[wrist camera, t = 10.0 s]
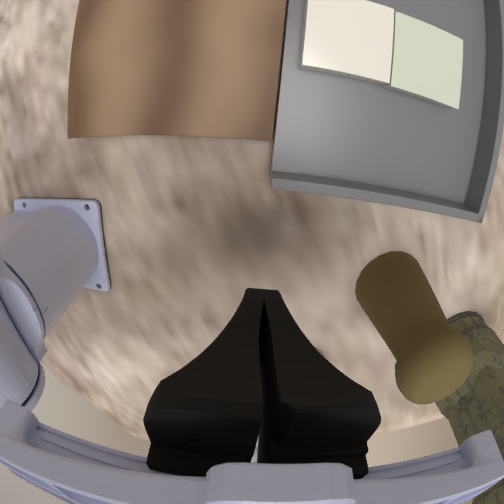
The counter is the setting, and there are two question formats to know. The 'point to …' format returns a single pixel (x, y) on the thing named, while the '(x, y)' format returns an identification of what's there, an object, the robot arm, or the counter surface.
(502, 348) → the thermos
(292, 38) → the box
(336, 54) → the tile
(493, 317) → the counter surface
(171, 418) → the robot arm
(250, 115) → the walnut plate
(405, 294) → the cork
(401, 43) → the tile
